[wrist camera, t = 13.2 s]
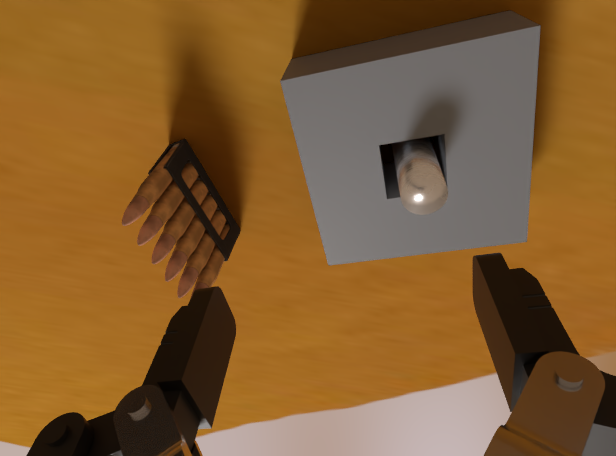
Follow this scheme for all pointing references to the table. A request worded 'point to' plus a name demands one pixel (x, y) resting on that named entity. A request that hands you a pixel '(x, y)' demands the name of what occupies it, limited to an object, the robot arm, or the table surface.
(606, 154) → the table surface
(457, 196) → the socket block
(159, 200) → the ammunition clip
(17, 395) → the table surface
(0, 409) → the table surface
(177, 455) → the robot arm
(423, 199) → the metal pin
